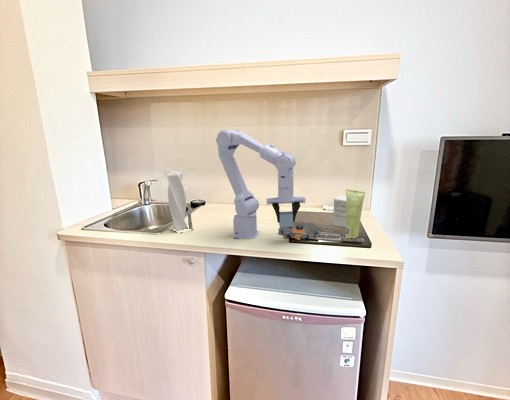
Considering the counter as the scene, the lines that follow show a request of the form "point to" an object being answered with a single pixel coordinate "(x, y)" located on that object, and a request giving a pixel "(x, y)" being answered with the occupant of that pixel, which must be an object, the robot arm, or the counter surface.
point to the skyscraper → (177, 201)
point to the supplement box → (339, 211)
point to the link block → (286, 219)
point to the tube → (353, 212)
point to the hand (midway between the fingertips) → (285, 221)
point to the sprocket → (300, 230)
